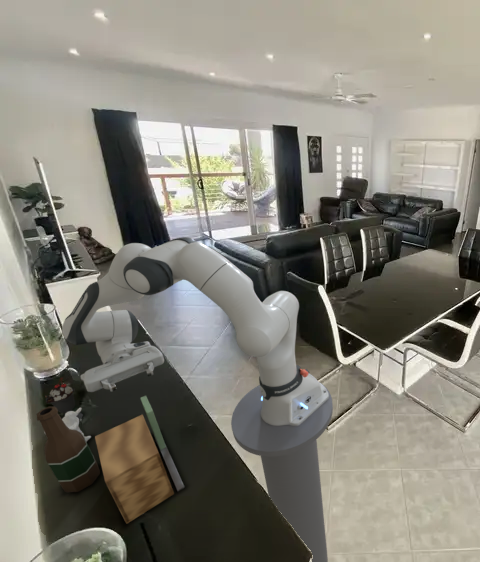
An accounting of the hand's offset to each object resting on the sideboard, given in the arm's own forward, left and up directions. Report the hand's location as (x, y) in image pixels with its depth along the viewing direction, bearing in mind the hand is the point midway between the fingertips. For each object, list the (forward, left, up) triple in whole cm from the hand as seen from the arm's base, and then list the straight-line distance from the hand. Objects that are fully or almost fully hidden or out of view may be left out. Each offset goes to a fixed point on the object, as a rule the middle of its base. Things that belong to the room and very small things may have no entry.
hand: (132, 381), depth 97 cm
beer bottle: (+17, +12, -15) cm, 26 cm away
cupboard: (+5, +21, -15) cm, 26 cm away
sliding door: (-1, +13, -14) cm, 19 cm away
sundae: (+17, -16, -15) cm, 28 cm away
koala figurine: (+17, -2, -15) cm, 23 cm away
